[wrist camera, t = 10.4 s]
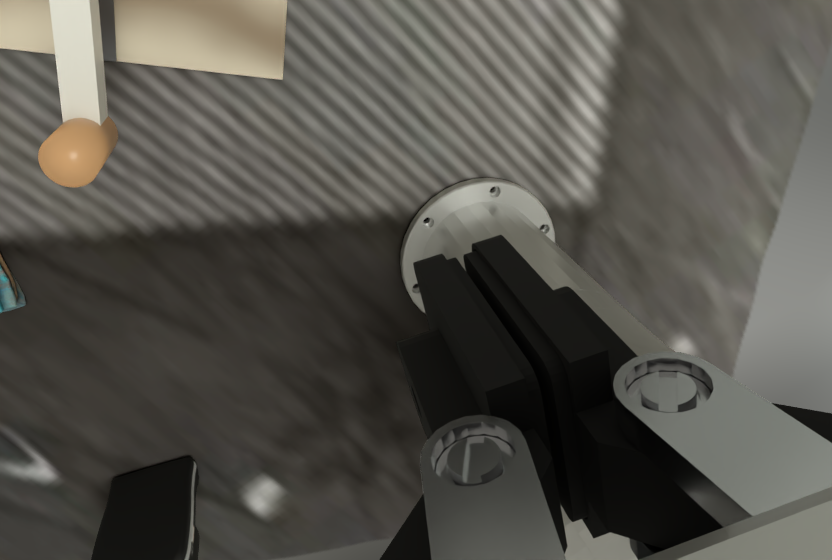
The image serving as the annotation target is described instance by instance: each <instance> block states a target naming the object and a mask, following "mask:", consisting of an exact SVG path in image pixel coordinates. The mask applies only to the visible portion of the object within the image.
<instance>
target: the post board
mask: <svg viewBox="0 0 832 560" xmlns="http://www.w3.org/2000/svg"><path fill="white" fill-rule="evenodd" d="M98 1H99V13H100V25H101V37H102V49H103V60H106V61H115V62H116V61H120V62H129V63H137V64H146V65H155V66H164V67H173V68H182V69H191V70H200V71H209V72H218V73H227V74H235V75H244V76H253V77H262V78H271V79H280V80H283V64H284V47H285V30H286V13H287V0H98ZM0 48H4V49H13V50H22V51H31V52H40V53H48V54H55V48H54V39H53V30H52V21H51V12H50V4H49V0H0Z"/></svg>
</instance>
